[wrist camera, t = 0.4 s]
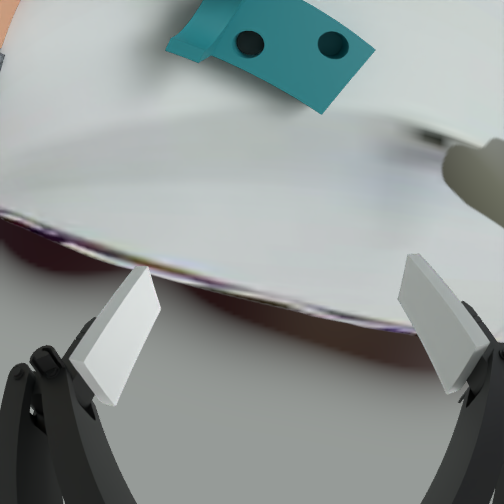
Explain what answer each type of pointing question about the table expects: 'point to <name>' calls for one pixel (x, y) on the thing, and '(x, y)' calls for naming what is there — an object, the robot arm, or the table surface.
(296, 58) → the teal l-shaped bracket
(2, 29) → the holder
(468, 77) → the table surface
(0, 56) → the tray
